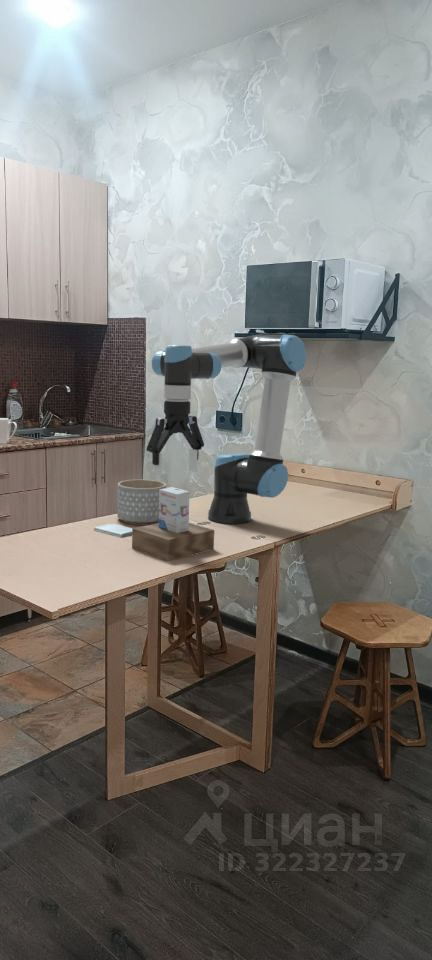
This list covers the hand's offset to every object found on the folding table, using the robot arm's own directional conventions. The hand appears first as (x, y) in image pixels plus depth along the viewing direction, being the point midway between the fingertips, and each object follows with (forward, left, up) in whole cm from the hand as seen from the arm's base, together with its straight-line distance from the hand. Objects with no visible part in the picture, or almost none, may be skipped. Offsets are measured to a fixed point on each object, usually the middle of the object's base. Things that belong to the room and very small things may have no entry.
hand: (175, 473), depth 203 cm
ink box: (0, 0, -17) cm, 17 cm away
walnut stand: (0, 0, -23) cm, 23 cm away
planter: (-15, -33, -23) cm, 43 cm away
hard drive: (+1, -26, -23) cm, 35 cm away
